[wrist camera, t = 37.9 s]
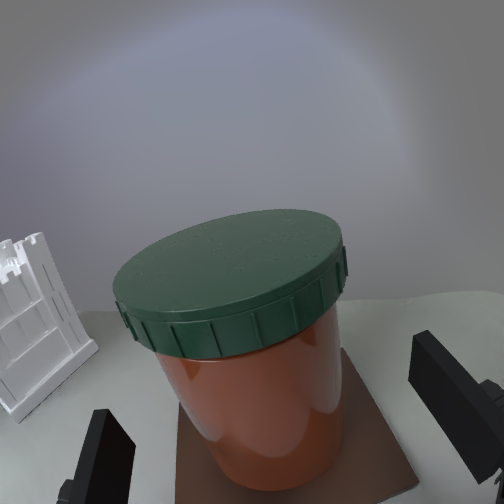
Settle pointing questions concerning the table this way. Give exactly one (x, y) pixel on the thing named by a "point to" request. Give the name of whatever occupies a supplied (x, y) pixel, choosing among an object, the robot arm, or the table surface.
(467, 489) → the table surface
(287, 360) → the jar
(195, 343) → the lid
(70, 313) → the castle model
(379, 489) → the coaster
